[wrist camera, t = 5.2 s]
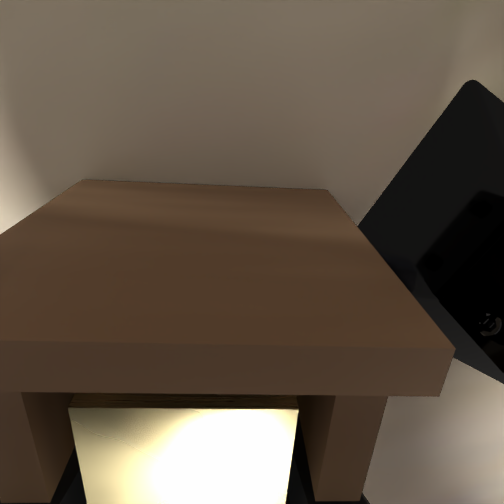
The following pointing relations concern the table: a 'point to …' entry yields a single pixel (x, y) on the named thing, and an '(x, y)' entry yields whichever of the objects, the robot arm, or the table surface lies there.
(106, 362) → the socket
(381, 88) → the table surface
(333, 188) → the table surface
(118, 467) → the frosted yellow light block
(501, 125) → the black recessed box
